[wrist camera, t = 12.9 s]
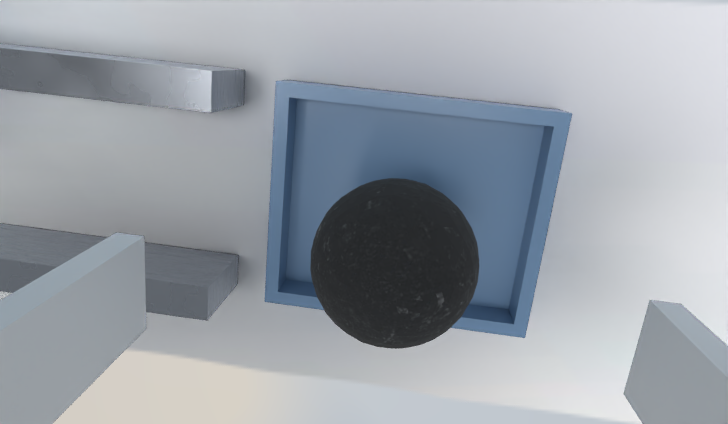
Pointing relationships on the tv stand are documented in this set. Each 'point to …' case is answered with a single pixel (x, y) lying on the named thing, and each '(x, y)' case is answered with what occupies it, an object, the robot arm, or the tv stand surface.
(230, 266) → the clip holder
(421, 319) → the black round speckled part
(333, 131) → the parts tray
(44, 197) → the tv stand surface
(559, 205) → the tv stand surface
